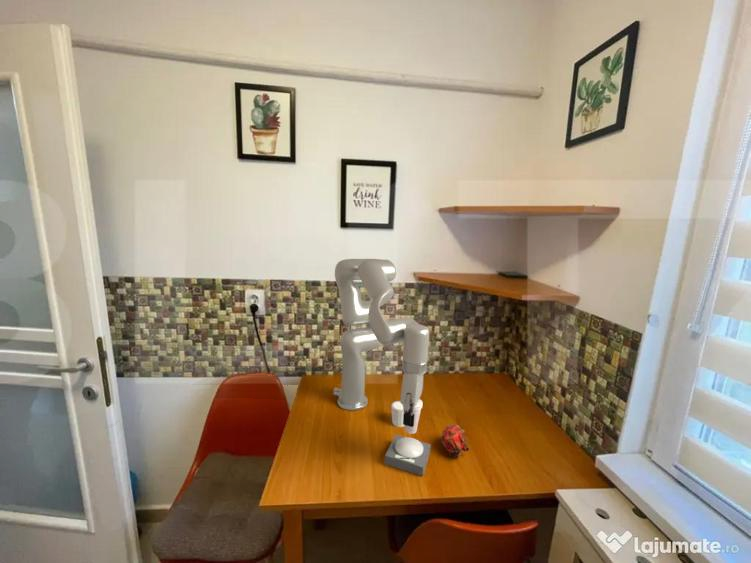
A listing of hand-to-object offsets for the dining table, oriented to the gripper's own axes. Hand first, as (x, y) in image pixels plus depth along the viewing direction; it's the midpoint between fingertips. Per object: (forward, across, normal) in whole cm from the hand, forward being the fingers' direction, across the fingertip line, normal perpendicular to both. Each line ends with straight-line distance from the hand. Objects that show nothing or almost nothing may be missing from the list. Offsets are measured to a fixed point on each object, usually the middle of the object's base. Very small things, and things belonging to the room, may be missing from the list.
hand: (411, 418), depth 98 cm
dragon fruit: (+14, -10, +13) cm, 21 cm away
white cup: (+14, -17, -8) cm, 23 cm away
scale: (+14, 0, 0) cm, 14 cm away
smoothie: (+4, 0, 0) cm, 4 cm away
